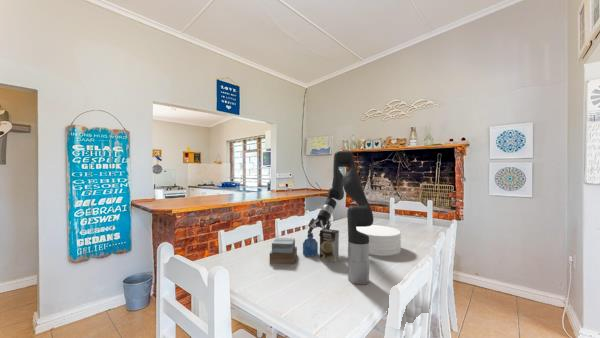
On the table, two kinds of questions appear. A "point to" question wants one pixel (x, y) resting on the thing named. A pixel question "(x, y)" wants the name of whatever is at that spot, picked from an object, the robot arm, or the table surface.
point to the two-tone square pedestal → (283, 251)
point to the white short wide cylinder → (382, 239)
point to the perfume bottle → (310, 246)
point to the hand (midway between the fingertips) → (314, 234)
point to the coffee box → (329, 245)
